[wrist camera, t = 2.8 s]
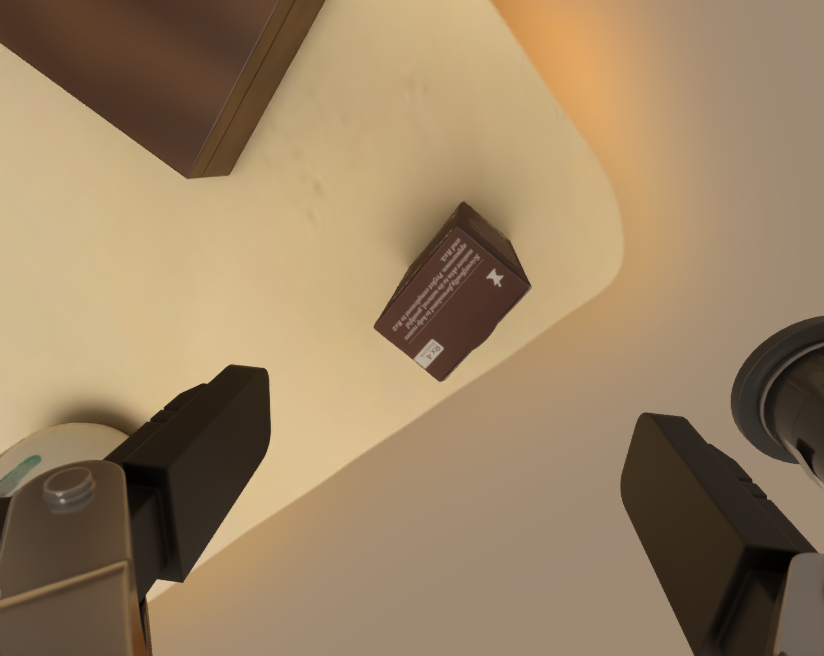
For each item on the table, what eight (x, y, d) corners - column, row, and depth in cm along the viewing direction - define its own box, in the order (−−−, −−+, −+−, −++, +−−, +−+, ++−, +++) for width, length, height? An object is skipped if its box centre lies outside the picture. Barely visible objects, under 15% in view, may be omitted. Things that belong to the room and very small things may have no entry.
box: (459, 196, 30) (458, 221, 18) (512, 241, 30) (542, 292, 19) (401, 268, 32) (368, 330, 20) (452, 309, 32) (447, 390, 21)
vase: (203, 464, 39) (11, 695, 22) (137, 537, 43) (-71, 783, 26) (84, 376, 37) (-223, 557, 20) (26, 461, 41) (-276, 673, 24)
